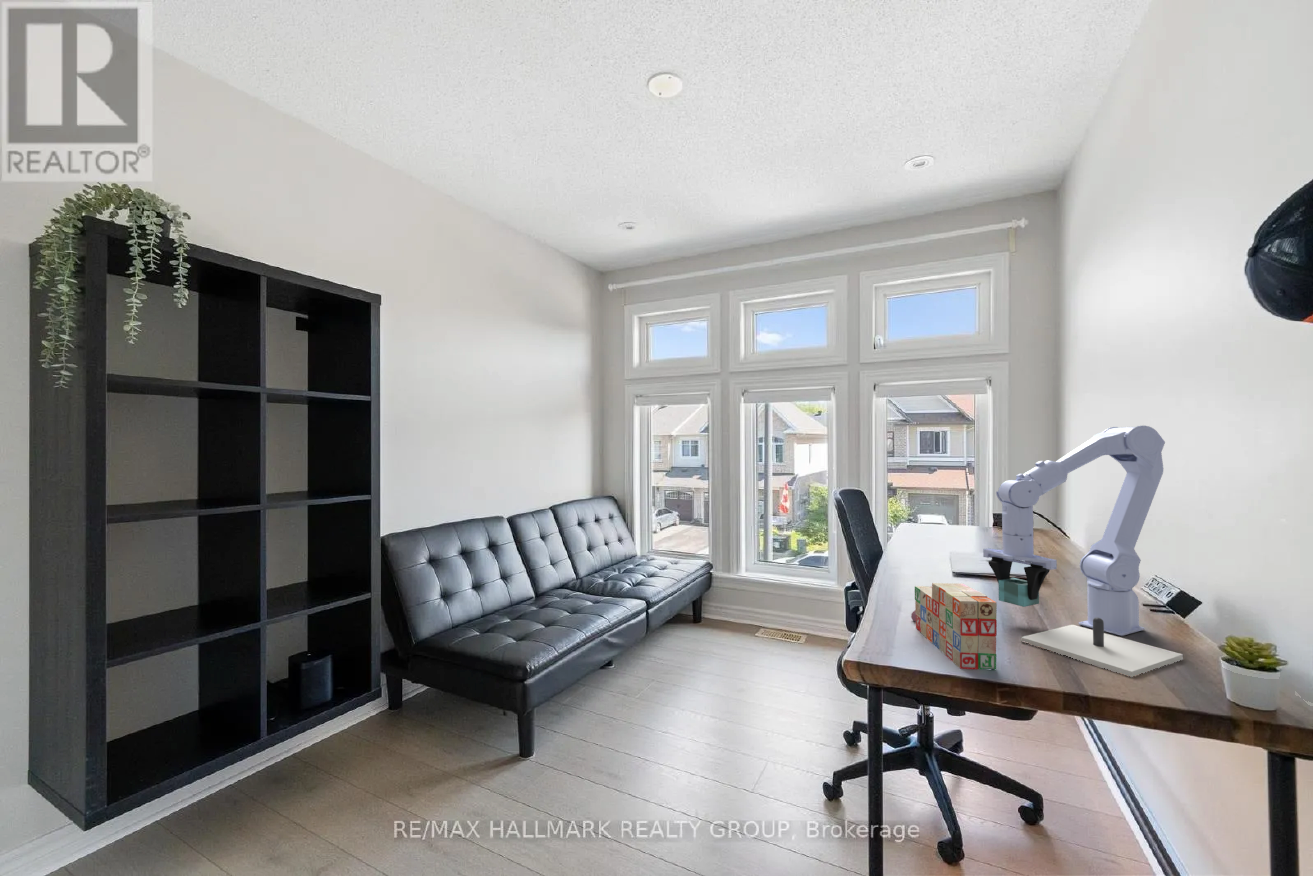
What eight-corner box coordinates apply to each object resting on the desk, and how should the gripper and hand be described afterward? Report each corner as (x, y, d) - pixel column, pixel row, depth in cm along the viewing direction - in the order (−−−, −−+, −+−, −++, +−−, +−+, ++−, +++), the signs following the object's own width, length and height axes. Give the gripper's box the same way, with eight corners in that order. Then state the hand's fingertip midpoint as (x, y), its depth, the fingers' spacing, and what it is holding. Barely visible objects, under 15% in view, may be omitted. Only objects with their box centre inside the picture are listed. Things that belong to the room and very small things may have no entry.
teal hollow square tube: (1013, 597, 121) (1013, 577, 121) (1039, 603, 116) (1038, 583, 116) (998, 600, 119) (998, 580, 119) (1024, 607, 114) (1023, 586, 114)
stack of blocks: (914, 628, 115) (914, 571, 115) (944, 629, 114) (944, 572, 114) (960, 669, 94) (959, 599, 94) (997, 671, 93) (997, 601, 93)
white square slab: (1072, 629, 114) (1072, 599, 114) (1182, 659, 98) (1182, 625, 98) (1021, 642, 106) (1020, 610, 107) (1131, 677, 90) (1131, 640, 90)
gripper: (974, 530, 123) (975, 589, 122) (1042, 540, 109) (1043, 606, 109) (993, 528, 126) (994, 586, 125) (1062, 538, 112) (1063, 602, 112)
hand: (1018, 595), depth 118 cm, fingers closed on teal hollow square tube, 5 cm apart
